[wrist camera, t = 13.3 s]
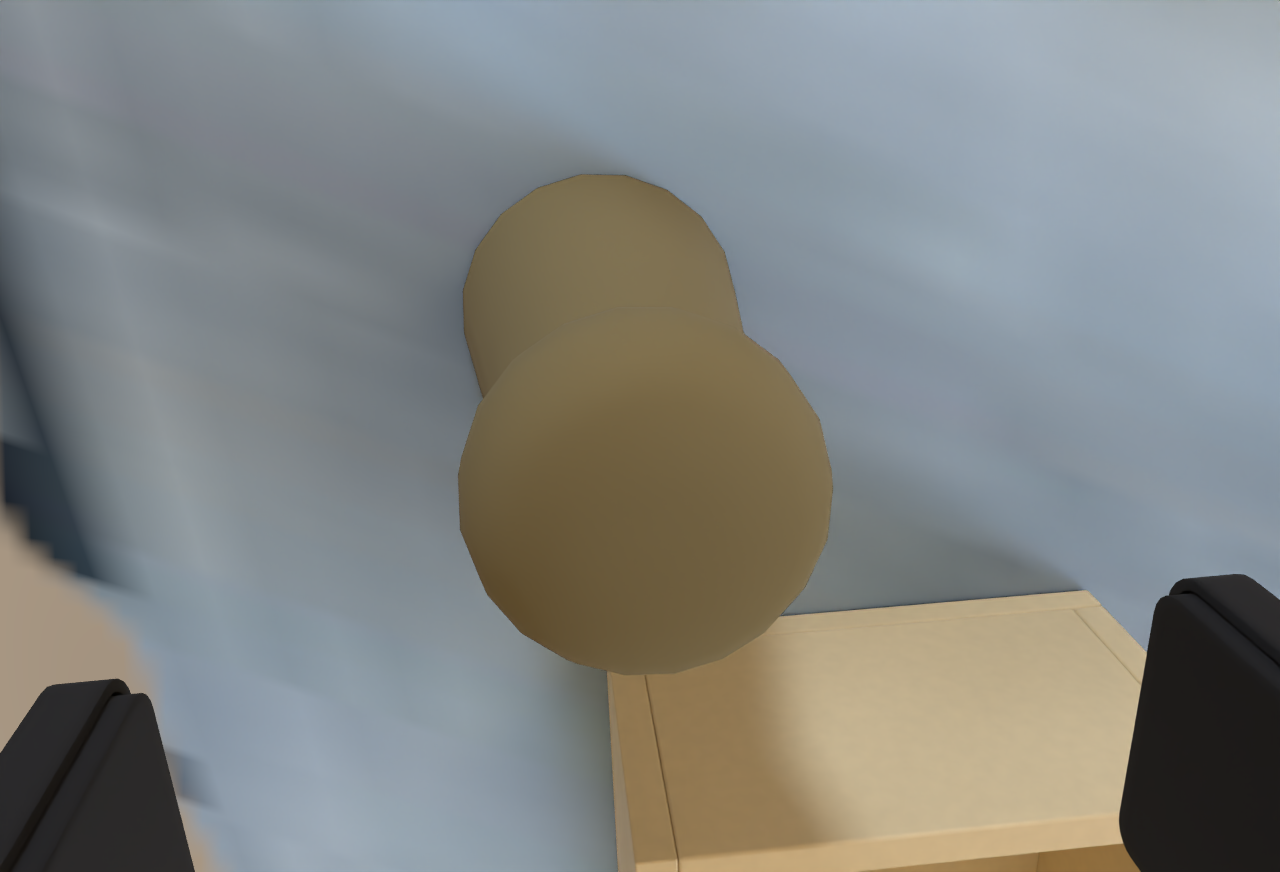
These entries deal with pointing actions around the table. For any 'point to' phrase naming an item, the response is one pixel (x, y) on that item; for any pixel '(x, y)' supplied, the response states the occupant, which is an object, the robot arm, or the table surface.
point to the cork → (631, 436)
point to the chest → (886, 744)
